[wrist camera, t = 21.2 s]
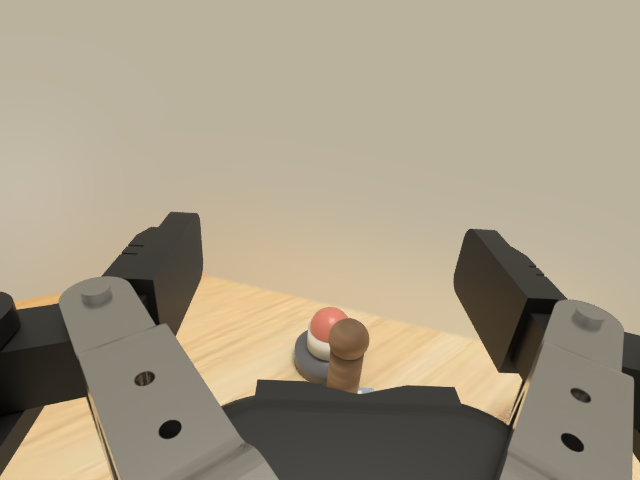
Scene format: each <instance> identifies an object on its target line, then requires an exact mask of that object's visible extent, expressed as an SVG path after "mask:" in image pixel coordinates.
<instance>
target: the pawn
mask: <svg viewBox="0 0 640 480" xmlns="http://www.w3.org/2000/svg"><path fill="white" fill-rule="evenodd" d="M328 341H329V346H330V357H329V366H328V375H327V384H326V386H327V387H331V388H335V389H339V390H343V391H347V392H351V393H356V394H358V387H359V381H360V375H361V369H362V363H363V357H364V353H365V352H366V350H367V348H368V345H369V334H368V331H367V329H366V328H365V326H364V325H363V324H362V323H361V322H359V321H357V320H355V319H351V318H346V319H342V320H340V321H338V322H336V323H335V324H334V325H333V326H332V328H331V330H330V332H329V336H328Z"/></svg>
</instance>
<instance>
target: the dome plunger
mask: <svg viewBox="0 0 640 480" xmlns="http://www.w3.org/2000/svg"><path fill="white" fill-rule="evenodd" d="M346 318H348V317H347V316H346V314H345V313H344V312H343V311H341V310H339V309H337V308H333V307H328V308H323V309H321V310H319V311H318V312H317V313H316V314H315V315H314V316H313V318H312V320H311V322H310V324H309V326H308V336H307V348H308V350H309V351H310V353H311V354H312V355H314V356H315V357H317V358H319V359H322V360H326V361H329V357H330V346H329V341H328V336H329V332H330V330H331V328H332V326H333V325H334V324H335V323H336V322H338V321H340V320H342V319H346Z"/></svg>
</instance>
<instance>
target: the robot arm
mask: <svg viewBox="0 0 640 480" xmlns="http://www.w3.org/2000/svg"><path fill="white" fill-rule="evenodd" d="M202 271H203V254H202V241H201V228H200V218H199V215H198V214H197V213H183V212H182V213H181V212H170V213H169V214H168V216H167V217H166V218H165V219H164V221H163V222H162V223H161V225H160V226H159V227H151V228H148V229H147V230H145V231H143V232H141V233H139V234H137V235H136V236H135V238H134V239H133V240H132V241H131V242H130V243H129V245H128V247H126V248H125V249H124V250H123V252H122V254H121V255H119V256H118V258H117V259H116V260H115V261H114V262H113V263H112V264H111V266H110V267H109V268H108V269H107V270H106V272H105V273H104V274H103V275H102V276H101V277H96V278H91V279H88V280H84V281H81V282H79V283H77V284H75V285H73V286H71V287H70V288H68V289H67V290H66V291H64V292H63V294H62V295H61V296H60V298H59V303H58V304H53V305H47V306H40V307H33V308H26V309H19V310H16V307H15V304H14V301H13V299H12V297H11V296H10V295H9V294H7V293H4V292H0V476H1V474H2V473H3V471H4V469H5V468H6V466H7V465H8V463H9V462H10V460H11V458H12V457H13V455H14V454H15V452H16V450H17V449H18V447H19V446H20V444H21V443H22V441H23V439H24V438H25V436H26V435H27V433H28V431H29V430H30V428H31V427H32V425H33V424H34V422H35V420H36V419H37V417H38V416H39V414H40V412H41V411H42V409H43V408H44V406H45V405H50V404H55V403H59V402H64V401H69V400H73V399H78V398H82V397H86V400H87V403H88V406H89V409H90V412H91V415H92V418H93V421H94V424H95V427H96V430H97V433H98V436H99V439H100V442H101V445H102V448H103V452H104V455H105V458H106V461H107V464H108V467H109V470H110V474H111V477H112V480H632V455H633V453H634V455H635V456H636V458H637V459H638V460H639V462H640V336H639V335H634V334H631V333H627V332H624V328H623V326H622V325H621V323H620V322H619V321H618V320H617V319H616V318H615V317H614V316H613V315H611V314H610V313H608V312H607V311H605V310H603V309H601V308H599V307H597V306H594V305H592V304H589V303H586V302H582V301H577V300H568V299H567V298H566V297H565V296H564V295H563V294H562V293H561V292H560V291H559V290H558V289H557V288H556V286H555V285H554V284H553V283H552V282H551V281H550V280H549V279H548V278H547V277H544V274H543V273H542V272H541V270H539V268H536V265H535V264H534V263H533V262H532V261H531V260H530V259H529V258H528V257H527V256H526V255H524V254H523V253H521V252H519V251H518V250H516V249H515V248H513V247H511V246H510V245H509V244H508V243H507V242H506V241H505V240H504V239H503V238H502V237H501V235H500V234H499V233H498V232H497V231H495V230H482V229H469V230H468V231H467V232H466V234H465V237H464V240H463V243H462V247H461V251H460V254H459V258H458V262H457V266H456V269H455V273H454V289H455V292H456V294H457V296H458V298H459V300H460V302H461V303H462V306H463V307H464V309H465V311H466V313H467V315H468V316H469V318H470V320H471V322H472V324H473V326H474V328H475V330H476V331H477V333H478V335H479V337H480V339H481V341H482V343H483V344H484V346H485V348H486V350H487V352H488V354H489V355H490V357H491V359H492V361H493V363H494V365H495V367H496V368H497V370H498V372H499V373H519V375H520V376H521V378H522V382H521V385H520V387H519V389H518V392H517V395H516V398H515V400H514V403H513V406H512V409H511V411H510V414H509V417H508V419H507V422H506V423H504V422H503V421H501V420H499V419H497V418H495V417H494V416H492V415H490V414H488V413H486V412H483V411H481V410H479V409H476V408H473V407H471V406H468V405H464V404H461V402H460V400H459V397H458V395H457V392H456V390H455V387H435V386H409V385H407V386H401V387H396V388H390V389H385V390H380V391H374V392H369V393H364V394H356V393H351V392H347V391H343V390H339V389H335V388H331V387H327V386H323V385H319V384H315V383H311V382H307V381H281V380H257V386H256V393H255V396H250V397H245V398H242V399H239V400H235V401H233V402H230V403H228V404H225V405H223V406H220V405H219V403H218V402H217V400H216V399H215V397H214V396H213V394H212V392H211V391H210V389H209V388H208V386H207V385H206V383H205V382H204V380H203V379H202V377H201V376H200V374H199V373H198V371H197V369H196V368H195V366H194V365H193V363H192V362H191V360H190V359H189V357H188V356H187V354H186V353H185V351H184V350H183V348H182V346H181V345H180V343H179V342H178V340H177V339H176V334H177V332H178V330H179V328H180V325H181V323H182V321H183V319H184V316H185V314H186V312H187V310H188V307H189V305H190V303H191V301H192V298H193V296H194V294H195V292H196V289H197V287H198V285H199V283H200V280H201V276H202Z"/></svg>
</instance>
